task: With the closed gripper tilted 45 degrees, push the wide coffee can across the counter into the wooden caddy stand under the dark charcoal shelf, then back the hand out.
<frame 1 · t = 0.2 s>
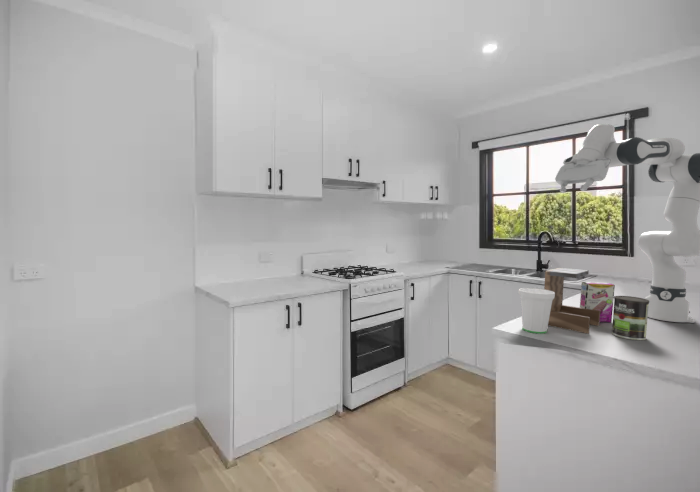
hand: (572, 191, 143), 54 cm above the counter, tool tilted 30°, fingers open, 8 cm apart
coffee can: (628, 336, 134), on the counter
candy bar box: (595, 321, 156), on the counter
cup: (534, 330, 139), on the counter
wooden caddy stand: (573, 325, 147), on the counter
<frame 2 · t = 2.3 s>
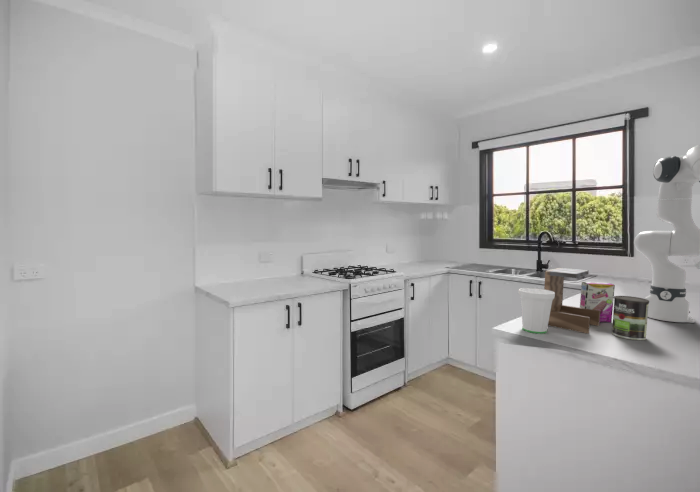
hand: (697, 266, 120), 28 cm above the counter, tool tilted 45°, fingers open, 8 cm apart
nothing on the counter moved.
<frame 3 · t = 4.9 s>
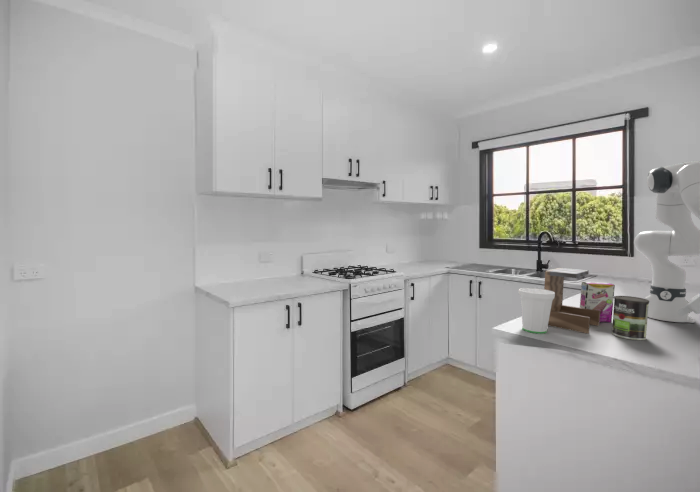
hand: (679, 313, 124), 11 cm above the counter, tool tilted 45°, fingers closed
nothing on the counter moved.
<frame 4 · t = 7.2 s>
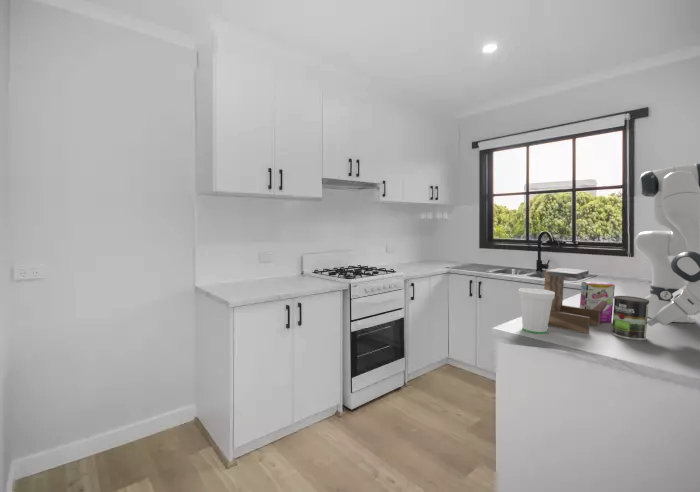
hand: (649, 323, 130), 6 cm above the counter, tool tilted 45°, fingers closed, pressing on coffee can
coffee can: (628, 336, 134), on the counter, touching gripper
everything else where it was.
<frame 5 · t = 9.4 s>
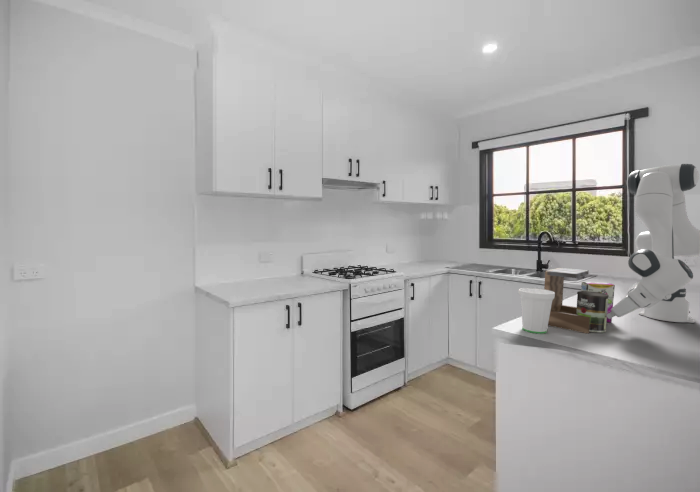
hand: (608, 316, 139), 6 cm above the counter, tool tilted 45°, fingers closed, pressing on coffee can
coffee can: (590, 329, 143), on the counter, touching gripper
everything else where it was.
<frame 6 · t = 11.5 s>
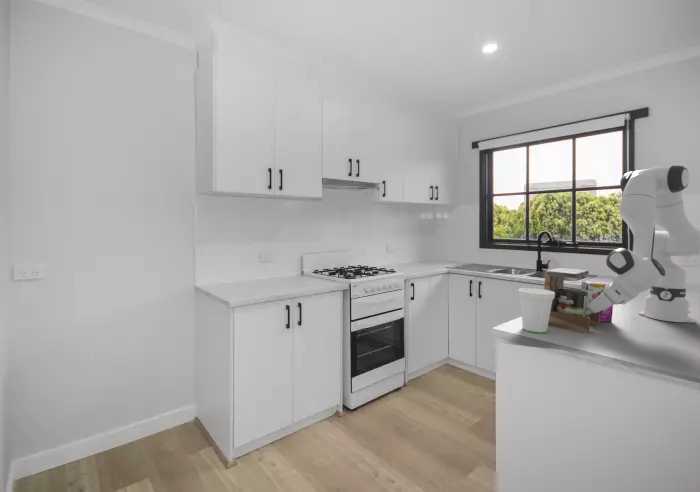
hand: (586, 313, 144), 6 cm above the counter, tool tilted 45°, fingers closed, pressing on coffee can
coffee can: (569, 325, 148), resting in wooden caddy stand, touching gripper
everything else where it was.
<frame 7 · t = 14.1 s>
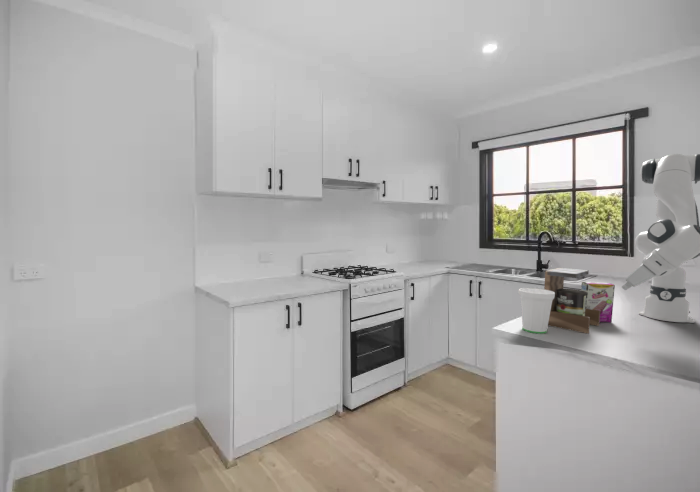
hand: (624, 288, 136), 17 cm above the counter, tool tilted 45°, fingers closed
coffee can: (569, 325, 148), resting in wooden caddy stand
everything else where it was.
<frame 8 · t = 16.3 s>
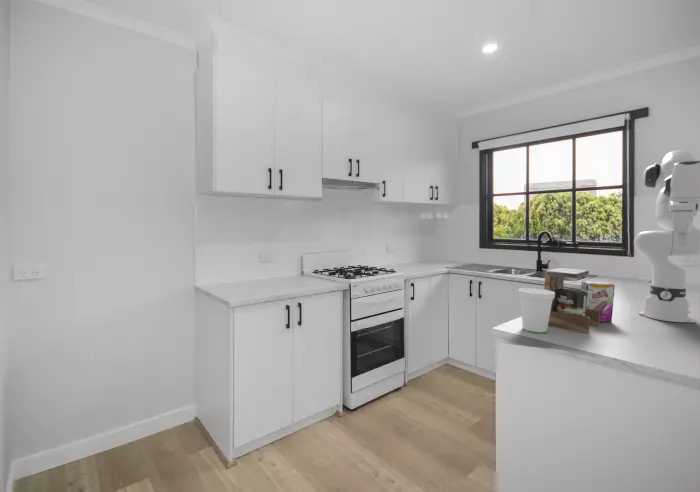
hand: (682, 245, 130), 34 cm above the counter, tool pointing down, fingers closed
nothing on the counter moved.
at the end: coffee can 0.4 cm from the target spot on the wooden caddy stand, point 0.0 cm above the wooden caddy stand's base; coffee can tilted 0° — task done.
